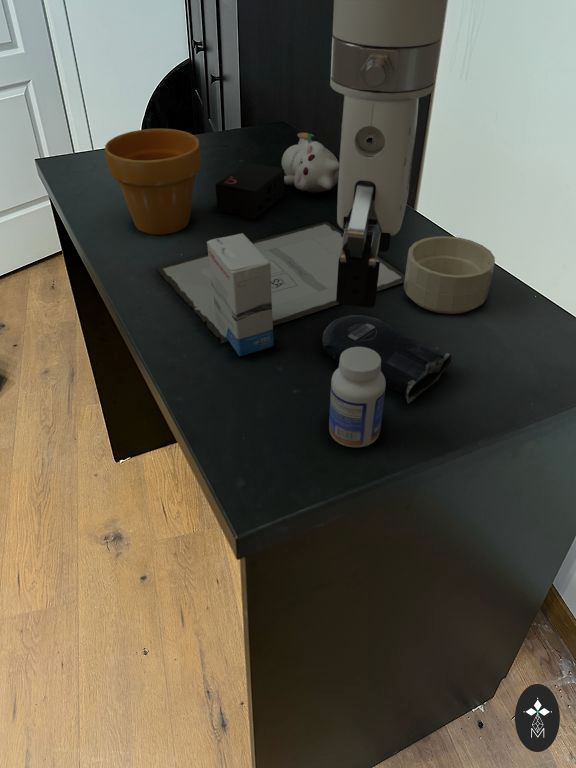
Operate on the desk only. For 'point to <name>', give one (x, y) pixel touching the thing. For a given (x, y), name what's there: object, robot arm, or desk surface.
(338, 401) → the pill bottle
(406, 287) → the basin
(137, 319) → the desk surface
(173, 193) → the flower pot
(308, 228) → the picture frame
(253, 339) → the ink box
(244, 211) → the electronic device
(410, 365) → the black pouch
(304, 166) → the cat figurine
